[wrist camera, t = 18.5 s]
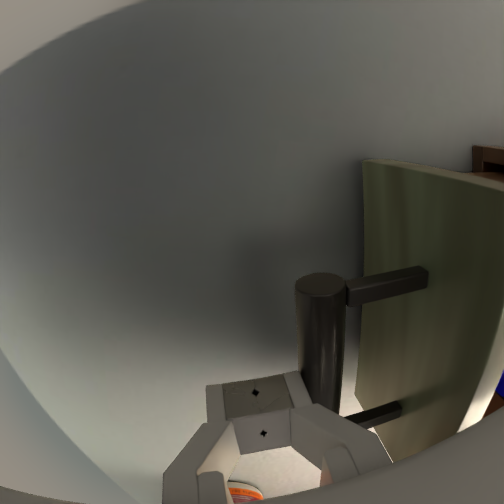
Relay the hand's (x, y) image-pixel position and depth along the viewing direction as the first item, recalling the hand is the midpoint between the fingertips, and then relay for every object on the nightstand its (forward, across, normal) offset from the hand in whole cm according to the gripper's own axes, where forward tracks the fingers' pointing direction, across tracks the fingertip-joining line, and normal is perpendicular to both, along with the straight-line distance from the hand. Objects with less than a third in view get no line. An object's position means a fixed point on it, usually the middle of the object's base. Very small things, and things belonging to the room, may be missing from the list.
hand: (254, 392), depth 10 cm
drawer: (+4, -11, 0) cm, 12 cm away
